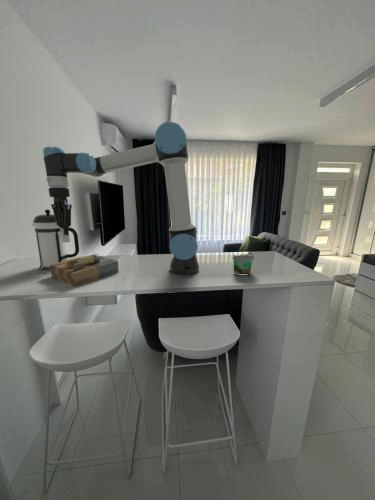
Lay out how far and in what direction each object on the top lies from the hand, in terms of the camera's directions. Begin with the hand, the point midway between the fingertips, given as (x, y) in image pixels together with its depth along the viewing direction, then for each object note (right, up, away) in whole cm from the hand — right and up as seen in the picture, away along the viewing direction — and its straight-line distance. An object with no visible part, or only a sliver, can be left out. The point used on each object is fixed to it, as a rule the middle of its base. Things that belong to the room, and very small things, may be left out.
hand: (66, 242), depth 95 cm
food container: (+84, -16, +11) cm, 86 cm away
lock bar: (+7, -10, +1) cm, 13 cm away
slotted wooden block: (+6, -15, +7) cm, 18 cm away
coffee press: (-14, -13, +17) cm, 26 cm away
